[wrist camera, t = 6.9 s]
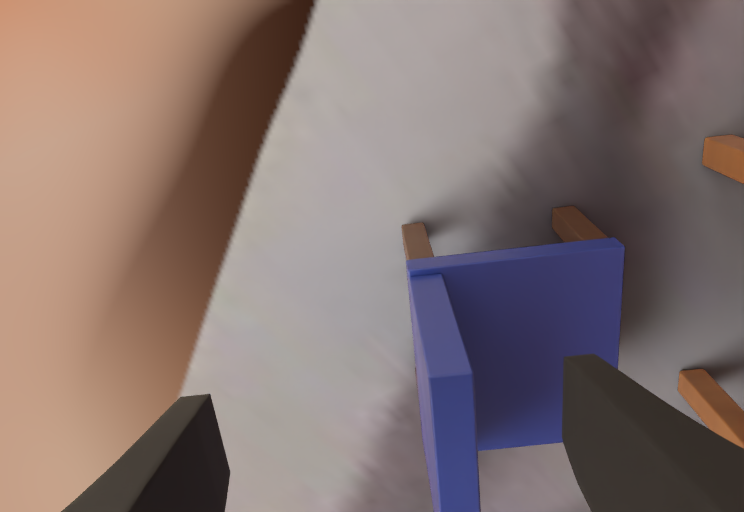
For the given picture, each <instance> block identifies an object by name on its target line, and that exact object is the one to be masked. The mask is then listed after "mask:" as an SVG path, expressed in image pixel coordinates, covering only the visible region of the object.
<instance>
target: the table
mask: <svg viewBox="0 0 744 512" xmlns="http://www.w3.org/2000/svg"><path fill="white" fill-rule="evenodd" d="M702 164H703V165H704V166H706V167H708V168H710V169H712V170H715V171H717V172H719V173H721V174H723V175H725V176H727V177H729V178H732V179H734V180H736V181H738V182H740V183H742V184H744V139H743V138H740V137H738V136H735V135H723V136H714V137H707V138H705V141H704V150H703V160H702ZM678 392H679V393H680V394H681V395H682V396H683V398H684V399H685V400H686V401H687V402H688V404H689V405H690V406H691V407H692V408H693V410H694V411H695V412H696V413H697V414H698V416H699V417H700V418H701V419H702V420H703V422H704V423H705V424H706V425H707V427H708V428H709V429H710V430H711V431H713V432H715V433H716V434H718V435H720V436H722V437H723V438H725V439H727V440H729V441H730V442H732V443H734V444H736V445H738V446H740V447H742V448H743V449H744V411H743V410H742V409H741V408H740V407H739V406H738V405H737V404H736V402H735V401H734V400H733V399H732V398H731V397H730V396H729V395H728V394H727V393H726V392H725V391H724V390H723V389H722V388H721V387H720V386H719V385H718V383H717V382H716V381H715V380H714V379H713V378H712V377H711V376H710V375H709V374H708V373H707V372H706V371H705V370H704V369H694V370H685V371H680V373H679V383H678Z"/></svg>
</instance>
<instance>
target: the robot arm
mask: <svg viewBox="0 0 744 512" xmlns="http://www.w3.org/2000/svg"><path fill="white" fill-rule="evenodd" d="M562 440H563V443H564V446H565V449H566V452H567V455H568V458H569V461H570V463H571V466H572V469H573V472H574V474H575V477H576V480H577V483H578V485H579V487H580V489H581V491H582V493H583V495H584V497H585V499H586V501H587V503H588V505H589V507H590V509H591V511H592V512H744V449H743V448H742V447H740V446H738V445H736V444H734V443H732V442H730V441H729V440H727V439H725V438H723V437H722V436H720V435H718V434H716V433H715V432H713V431H711V430H710V429H708V428H706V427H705V426H703V425H701V424H699V423H698V422H696V421H694V420H693V419H691V418H690V417H688V416H686V415H685V414H683V413H682V412H680V411H678V410H677V409H675V408H674V407H672V406H671V405H669V404H668V403H666V402H664V401H663V400H661V399H660V398H658V397H657V396H655V395H654V394H652V393H651V392H650V391H648V390H647V389H645V388H644V387H642V386H641V385H639V384H638V383H636V382H635V381H634V380H632V379H631V378H629V377H628V376H626V375H625V374H623V373H622V372H621V371H619V370H618V369H616V368H615V367H613V366H612V365H611V364H609V363H608V362H606V361H605V360H603V359H602V358H600V357H599V356H597V355H596V354H584V355H575V356H565V357H564V361H563V405H562ZM229 477H230V469H229V466H228V462H227V458H226V454H225V450H224V446H223V442H222V438H221V434H220V430H219V427H218V423H217V419H216V415H215V411H214V407H213V403H212V399H211V395H210V394H205V395H196V396H186V397H180V398H179V399H178V400H177V401H176V402H175V403H174V404H173V405H172V406H171V407H170V408H169V409H168V410H167V411H166V412H165V413H164V414H163V415H162V416H161V417H160V418H159V419H158V420H157V421H156V422H155V423H154V424H153V425H152V426H151V427H150V428H149V429H148V430H147V431H146V432H145V433H144V434H143V435H142V436H141V437H140V439H138V440H137V441H136V442H135V444H134V445H132V446H131V448H130V449H128V450H127V451H126V452H125V454H124V455H122V457H120V459H119V460H118V461H116V462H115V464H113V465H112V466H111V467H110V468H109V469H108V470H107V471H106V472H105V473H104V474H103V475H101V476H100V477H99V478H98V479H97V480H96V481H95V482H94V483H93V484H92V485H91V486H89V487H88V488H87V489H86V490H85V491H84V492H83V493H82V494H81V495H80V496H79V497H78V498H76V499H75V500H74V501H73V502H72V503H71V504H70V505H69V506H67V507H66V508H65V509H64V510H63V511H61V512H225V506H226V499H227V492H228V485H229Z"/></svg>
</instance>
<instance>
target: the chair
mask: <svg viewBox="0 0 744 512" xmlns="http://www.w3.org/2000/svg"><path fill="white" fill-rule="evenodd" d="M552 228H553V230H554V231H555V232H556V233H557V234H558V235H559V237H560V238H561V239H562V240H563V241H564V242H565V243H557V244H548V245H539V246H530V247H521V248H512V249H502V250H493V251H484V252H475V253H466V254H457V255H448V256H439V257H434V255H433V252H432V248H431V245H430V242H429V239H428V235H427V232H426V229H425V226H424V223H414V224H405V225H402V235H403V245H404V250H405V255H406V267H407V277H408V288H409V299H410V309H411V320H412V331H413V341H414V352H415V362H416V367H415V372H416V382H417V388H418V395H419V405H420V416H421V426H422V437H423V445H424V451H425V456H426V462H427V469H428V475H429V482H430V488H431V495H432V501H433V508H434V512H481V509H480V489H479V469H478V451H483V450H493V449H502V448H512V447H522V446H531V445H541V444H551V443H560V442H563V440H562V405H563V361H564V357H565V356H575V355H584V354H596V355H597V356H599V357H600V358H602V359H603V360H605V361H606V362H608V363H609V364H611V365H612V366H613V367H615V368H616V369H618V356H619V339H620V322H621V305H622V289H623V272H624V255H625V246H624V245H623V244H622V243H620V242H619V241H618V240H617V239H616V238H615V237H612V238H608V237H607V236H606V235H605V234H604V233H602V232H601V231H600V230H599V229H598V228H597V227H596V226H595V225H594V224H593V223H592V222H591V221H590V220H589V219H587V218H586V217H585V216H584V215H583V214H582V213H581V212H580V211H579V210H578V209H577V208H576V207H575V206H568V207H559V208H553V209H552Z"/></svg>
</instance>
